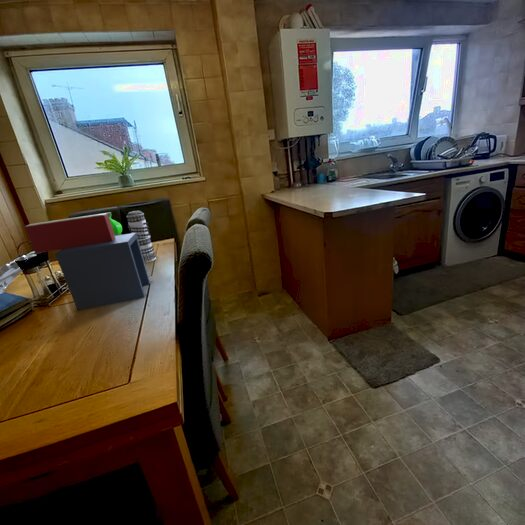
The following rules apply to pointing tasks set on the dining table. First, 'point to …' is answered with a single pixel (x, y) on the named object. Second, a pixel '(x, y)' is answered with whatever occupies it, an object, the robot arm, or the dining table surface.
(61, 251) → the shelf
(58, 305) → the dining table surface
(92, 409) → the dining table surface
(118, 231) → the plastic bottle
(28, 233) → the book
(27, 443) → the dining table surface
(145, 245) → the leaning tower model
